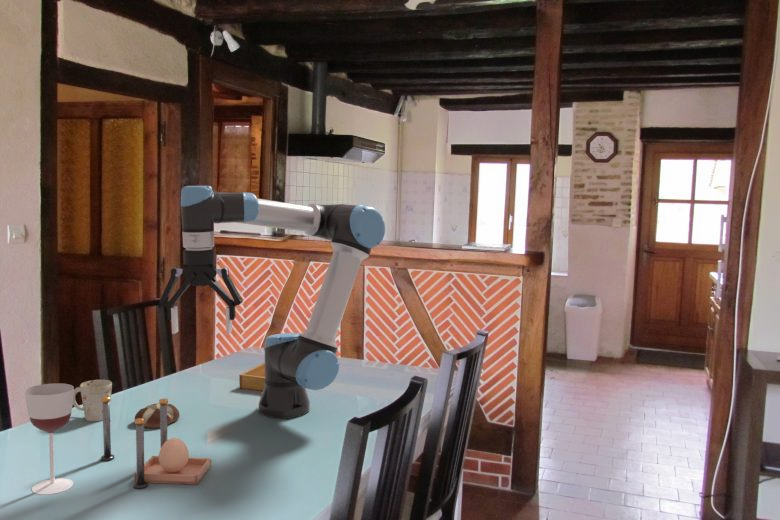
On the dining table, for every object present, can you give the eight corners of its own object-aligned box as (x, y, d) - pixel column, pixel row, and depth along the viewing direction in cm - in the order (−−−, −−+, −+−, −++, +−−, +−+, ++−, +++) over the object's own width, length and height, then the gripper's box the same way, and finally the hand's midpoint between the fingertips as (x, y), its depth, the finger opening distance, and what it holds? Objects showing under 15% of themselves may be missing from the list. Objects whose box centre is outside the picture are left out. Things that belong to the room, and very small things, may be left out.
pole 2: (150, 483, 156) (149, 417, 155) (144, 489, 153) (143, 422, 152) (136, 482, 156) (135, 416, 155) (131, 488, 153) (130, 421, 152)
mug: (101, 424, 193) (100, 389, 192) (61, 420, 195) (59, 385, 194) (118, 414, 201) (118, 380, 200) (79, 410, 203) (79, 377, 202)
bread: (185, 419, 199) (185, 402, 198) (156, 431, 189) (156, 414, 188) (156, 413, 204) (156, 396, 203) (126, 424, 193) (126, 407, 193)
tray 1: (211, 466, 166) (211, 458, 166) (197, 484, 156) (197, 476, 156) (152, 463, 167) (152, 455, 167) (135, 482, 157) (134, 473, 157)
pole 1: (116, 456, 171) (114, 395, 169) (111, 461, 168) (109, 399, 166) (104, 456, 171) (102, 395, 169) (98, 460, 168) (96, 399, 166)
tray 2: (280, 395, 224) (280, 378, 223) (239, 390, 228) (239, 373, 228) (320, 372, 252) (320, 356, 252) (283, 367, 257) (283, 352, 257)
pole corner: (172, 459, 170) (171, 398, 168) (168, 463, 167) (167, 402, 166) (160, 458, 170) (159, 397, 169) (155, 463, 167) (155, 401, 166)
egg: (191, 474, 160) (191, 441, 159) (161, 479, 157) (161, 445, 156) (185, 463, 166) (185, 431, 165) (156, 468, 163) (156, 435, 162)
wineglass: (38, 478, 158) (35, 383, 155) (82, 477, 159) (79, 383, 156) (21, 495, 149) (17, 395, 147) (67, 494, 150) (64, 395, 147)
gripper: (143, 250, 169) (147, 336, 171) (245, 250, 168) (248, 336, 171) (153, 246, 176) (157, 329, 179) (252, 246, 176) (254, 329, 179)
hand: (202, 332), depth 175 cm, fingers open, 13 cm apart
